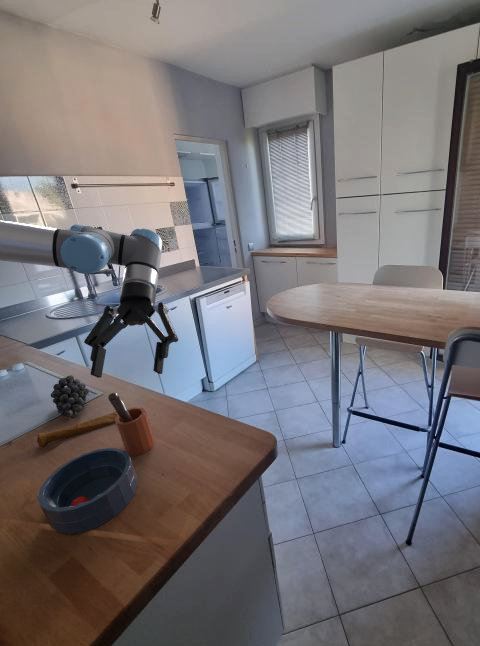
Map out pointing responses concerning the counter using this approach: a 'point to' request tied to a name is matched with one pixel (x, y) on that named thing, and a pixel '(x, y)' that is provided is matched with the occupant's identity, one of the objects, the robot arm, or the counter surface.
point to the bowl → (88, 490)
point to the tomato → (79, 500)
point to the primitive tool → (75, 429)
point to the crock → (135, 432)
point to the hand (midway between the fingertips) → (126, 374)
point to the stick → (119, 407)
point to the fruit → (69, 396)
